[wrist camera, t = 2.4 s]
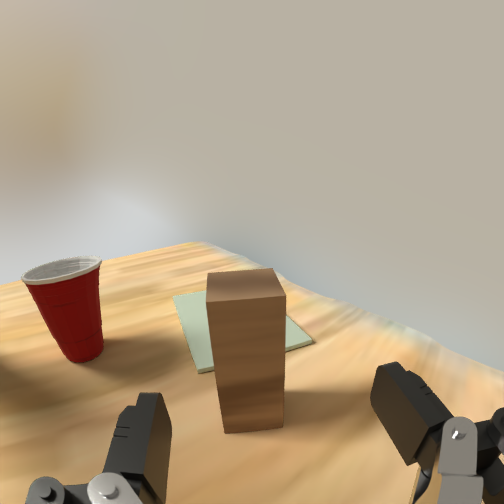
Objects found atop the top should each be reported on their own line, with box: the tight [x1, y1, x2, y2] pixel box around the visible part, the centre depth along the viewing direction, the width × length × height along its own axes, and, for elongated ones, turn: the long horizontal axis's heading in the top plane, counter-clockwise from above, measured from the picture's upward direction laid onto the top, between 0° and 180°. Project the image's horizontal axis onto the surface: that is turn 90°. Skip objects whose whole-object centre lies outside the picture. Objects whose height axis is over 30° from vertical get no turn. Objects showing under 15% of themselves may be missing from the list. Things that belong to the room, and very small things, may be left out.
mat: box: [173, 291, 312, 373], centre depth 41 cm, size 20×14×1 cm
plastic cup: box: [21, 256, 104, 362], centre depth 31 cm, size 11×11×12 cm
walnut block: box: [206, 268, 286, 433], centre depth 22 cm, size 5×5×13 cm
